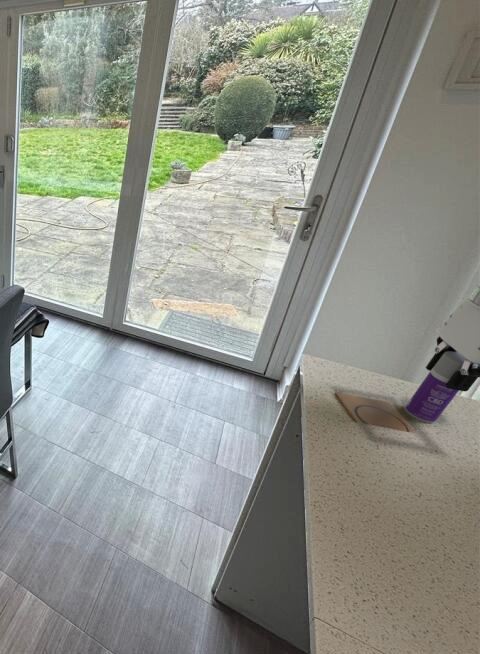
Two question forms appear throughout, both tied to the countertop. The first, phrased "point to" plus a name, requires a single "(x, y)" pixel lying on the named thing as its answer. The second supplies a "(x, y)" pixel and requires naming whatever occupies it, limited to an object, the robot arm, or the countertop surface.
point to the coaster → (374, 412)
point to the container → (436, 389)
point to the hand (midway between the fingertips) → (445, 378)
